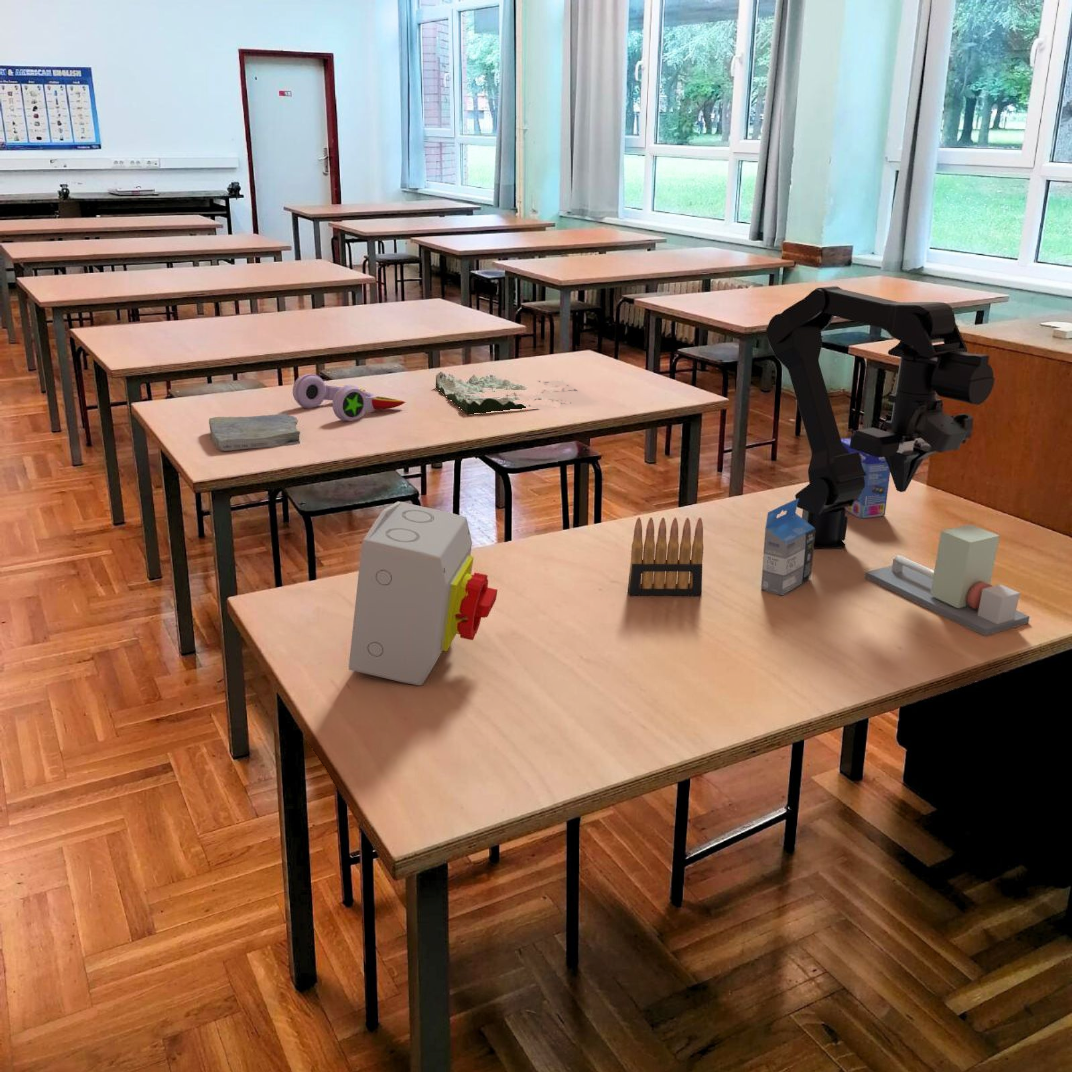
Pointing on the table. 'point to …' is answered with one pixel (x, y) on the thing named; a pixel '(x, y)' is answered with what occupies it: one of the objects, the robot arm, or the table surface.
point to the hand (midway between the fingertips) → (900, 491)
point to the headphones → (339, 398)
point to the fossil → (253, 431)
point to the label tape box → (787, 550)
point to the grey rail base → (981, 614)
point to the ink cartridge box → (871, 485)
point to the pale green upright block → (963, 562)
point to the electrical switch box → (415, 592)
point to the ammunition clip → (666, 561)
